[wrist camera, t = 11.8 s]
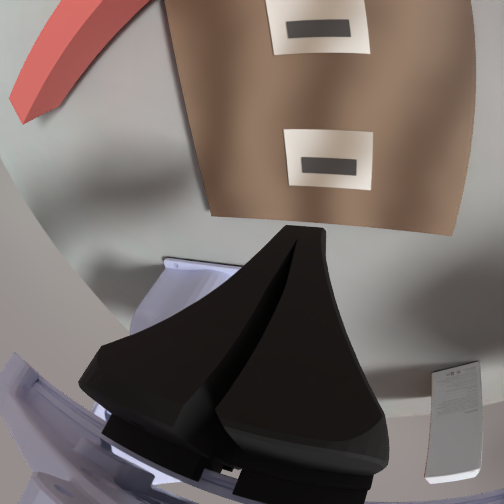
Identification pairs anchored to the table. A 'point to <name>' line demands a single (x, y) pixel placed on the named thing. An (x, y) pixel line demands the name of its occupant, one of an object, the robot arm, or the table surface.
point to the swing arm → (67, 51)
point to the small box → (455, 425)
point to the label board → (330, 108)
